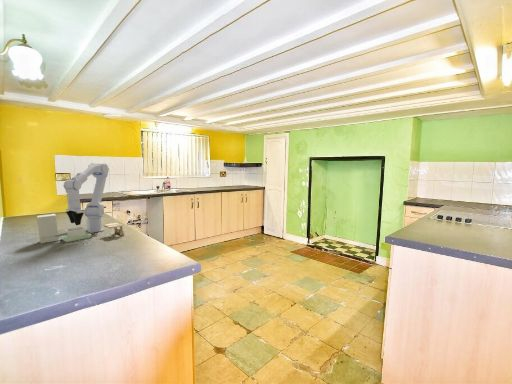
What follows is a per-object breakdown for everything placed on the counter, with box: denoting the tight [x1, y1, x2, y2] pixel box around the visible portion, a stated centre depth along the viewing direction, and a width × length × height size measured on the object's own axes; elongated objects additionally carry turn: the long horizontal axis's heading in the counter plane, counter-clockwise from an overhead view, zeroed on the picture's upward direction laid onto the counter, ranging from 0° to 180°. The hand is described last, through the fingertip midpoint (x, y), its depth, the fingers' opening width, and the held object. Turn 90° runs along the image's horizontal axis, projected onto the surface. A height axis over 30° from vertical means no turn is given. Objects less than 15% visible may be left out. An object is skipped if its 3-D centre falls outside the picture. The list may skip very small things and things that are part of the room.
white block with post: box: [55, 226, 86, 238], centre depth 147 cm, size 6×14×5 cm, turn 139°
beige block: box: [103, 222, 125, 237], centre depth 156 cm, size 9×8×7 cm
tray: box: [60, 231, 93, 243], centre depth 150 cm, size 10×12×2 cm
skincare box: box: [36, 213, 60, 244], centre depth 144 cm, size 8×6×15 cm
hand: (75, 223), depth 149 cm, fingers open, 7 cm apart
